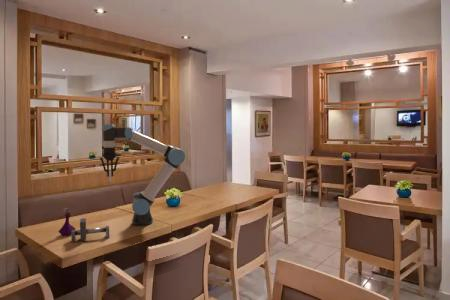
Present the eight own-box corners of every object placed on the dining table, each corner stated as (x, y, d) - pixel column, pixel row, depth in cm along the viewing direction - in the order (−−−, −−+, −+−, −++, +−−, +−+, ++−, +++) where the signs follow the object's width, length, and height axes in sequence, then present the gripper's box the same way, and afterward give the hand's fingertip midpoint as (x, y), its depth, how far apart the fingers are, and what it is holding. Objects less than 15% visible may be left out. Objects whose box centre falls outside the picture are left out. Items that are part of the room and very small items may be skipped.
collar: (86, 235, 203) (85, 218, 202) (85, 240, 195) (85, 221, 194) (81, 236, 202) (80, 218, 201) (80, 240, 194) (79, 222, 193)
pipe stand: (109, 235, 206) (108, 225, 206) (109, 237, 202) (109, 227, 201) (72, 239, 198) (71, 229, 198) (71, 242, 193) (71, 231, 193)
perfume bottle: (65, 232, 212) (64, 206, 211) (75, 233, 212) (74, 206, 210) (58, 236, 205) (57, 209, 204) (69, 236, 204) (68, 209, 203)
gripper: (119, 146, 219) (120, 179, 221) (99, 147, 214) (100, 181, 216) (119, 147, 212) (120, 181, 214) (99, 147, 207) (100, 182, 209)
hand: (110, 181), depth 215 cm, fingers closed
